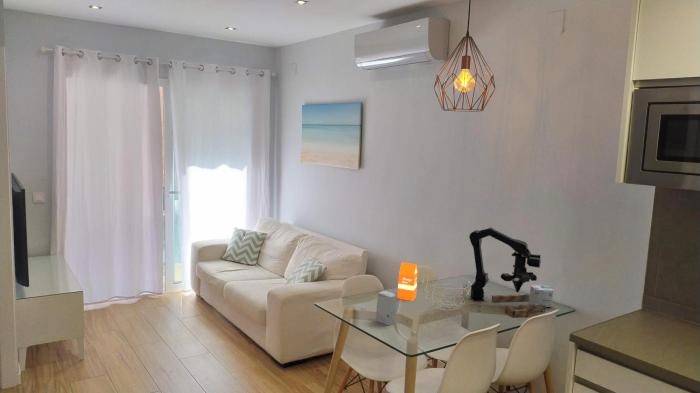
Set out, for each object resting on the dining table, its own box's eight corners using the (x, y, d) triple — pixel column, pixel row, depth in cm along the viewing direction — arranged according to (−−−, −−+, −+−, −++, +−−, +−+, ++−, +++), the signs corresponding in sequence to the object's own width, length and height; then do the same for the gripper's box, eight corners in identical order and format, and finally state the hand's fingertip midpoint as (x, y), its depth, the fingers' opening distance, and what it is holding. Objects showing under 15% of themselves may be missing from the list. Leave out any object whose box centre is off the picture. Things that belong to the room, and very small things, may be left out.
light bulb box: (546, 303, 285) (549, 285, 283) (551, 308, 279) (554, 290, 276) (528, 302, 285) (530, 284, 283) (532, 307, 279) (534, 289, 276)
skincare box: (375, 321, 250) (376, 292, 248) (382, 317, 254) (384, 289, 252) (389, 326, 245) (390, 296, 242) (396, 322, 249) (397, 293, 247)
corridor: (511, 317, 263) (512, 309, 262) (491, 301, 285) (492, 294, 285) (551, 316, 267) (552, 308, 267) (528, 300, 290) (529, 293, 289)
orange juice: (412, 301, 280) (414, 266, 277) (397, 298, 284) (399, 263, 280) (416, 296, 288) (418, 262, 284) (401, 294, 291) (403, 260, 288)
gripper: (511, 269, 266) (508, 297, 268) (543, 268, 269) (540, 296, 272) (501, 263, 276) (498, 290, 279) (532, 262, 280) (529, 289, 282)
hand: (517, 292), depth 278 cm, fingers closed
